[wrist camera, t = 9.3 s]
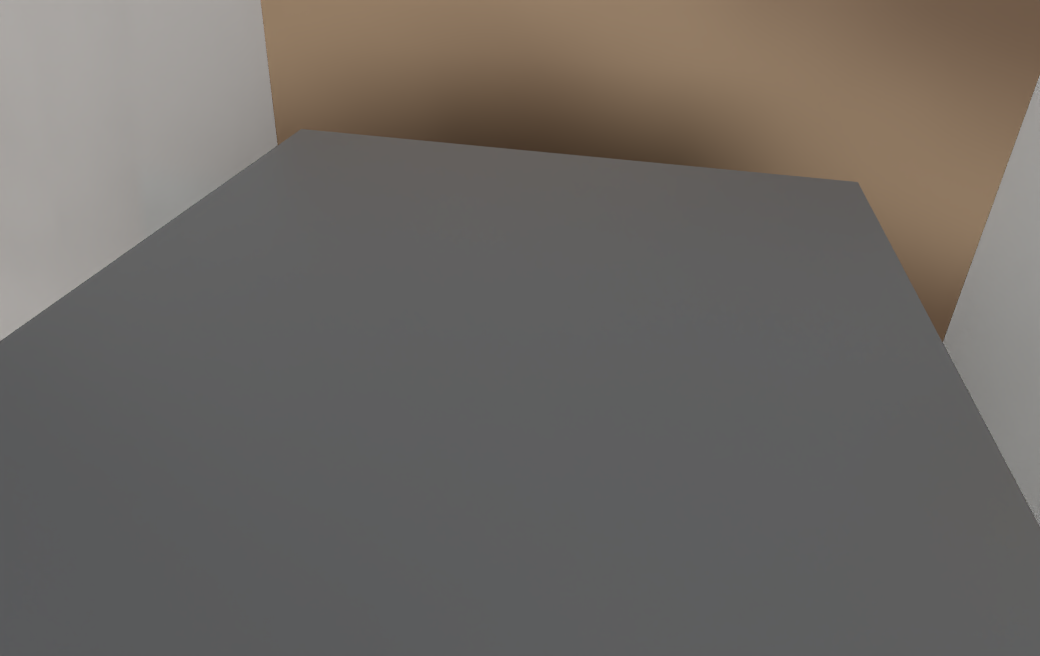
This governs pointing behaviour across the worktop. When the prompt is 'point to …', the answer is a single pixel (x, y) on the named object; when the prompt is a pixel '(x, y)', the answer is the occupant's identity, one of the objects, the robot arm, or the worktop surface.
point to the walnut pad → (694, 93)
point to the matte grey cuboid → (503, 425)
